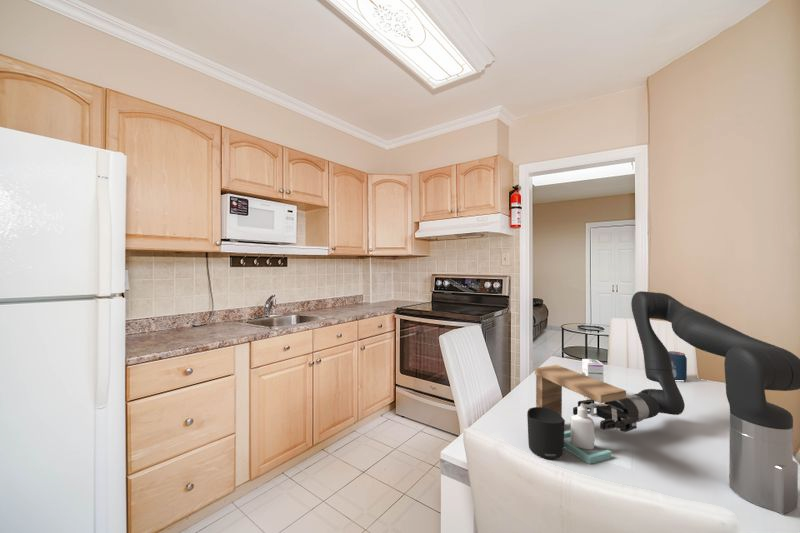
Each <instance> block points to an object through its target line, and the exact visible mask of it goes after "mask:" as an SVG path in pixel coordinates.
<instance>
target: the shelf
mask: <svg viewBox="0 0 800 533" xmlns="http://www.w3.org/2000/svg"><path fill="white" fill-rule="evenodd" d="M534 375H535V376H536V377H535V379H536V380H535V381H536V382H535V383H536V384H535V386H536V387H535V389H536V390H535V405H536V406H535V407H544V408H549V409H552V410H555V411H556V412H558V413H559V414H560V415H561V417H562V418H563V414H562V413H563V411H562V410H563V398H562V397H563V388H565V389H567V390H569V391H572V392H575V393H577V394H578V395H581V396H583V397H584V396H585V397H588V398H590V399H592V400H594V402H597V403H598V404H604V403H605V402H610V401H615V400H620V399H625V398H626V395H627V390H626V389H623V388H621V387H617V386H615V385H612V384H609V383H607V382H602V381H599V380H596V379H594V378H591V377H588V376H586V375H583V374H582V373H580V372H577V371H574V370H572V369H569V368H567V367H563V366H561V365H558V364H554V365H546V366H540V367H535V368H534ZM585 397H584V398H585Z"/></svg>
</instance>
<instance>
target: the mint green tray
mask: <svg viewBox="0 0 800 533" xmlns="http://www.w3.org/2000/svg"><path fill="white" fill-rule="evenodd" d="M563 449H566V450H568V451H569V452H571V453H572V454H573V455H575V456H576V457H578V458H579V459H581V460H582V461H584V462H586V463H587V464H588V465H591V464H594V463H598V462H601V461H604V460H609V459H611V458H613V457H612V454H613V452H612V451H611V450H610V449H606V450H603V449H602V448H599V447H598V446H596V445H595V444H594V449H583V448H579V447H575V446H574V445H572V443H571V429H569V430H564V447H563Z"/></svg>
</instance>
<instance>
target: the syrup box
mask: <svg viewBox="0 0 800 533" xmlns="http://www.w3.org/2000/svg"><path fill="white" fill-rule="evenodd" d="M581 361H582V363H581V367H582V369H581V370H582V371H581V372H582V373H581V374H583V375H586V376H588V377H591V378H594V379H596V380H599V381H602V382H604V364H603V363H602V362H601V361H599V360H598V359H592V358H582V359H581ZM604 383H605V382H604ZM583 397H584V398H585V400H590V398H588V397H585V396H583Z"/></svg>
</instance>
